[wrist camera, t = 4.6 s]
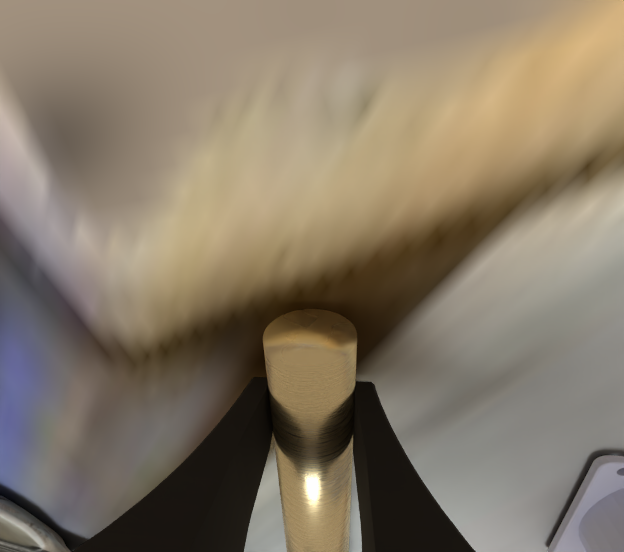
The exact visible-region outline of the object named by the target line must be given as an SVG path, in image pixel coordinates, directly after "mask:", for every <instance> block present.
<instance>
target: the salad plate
mask: <svg viewBox="0 0 624 552" xmlns="http://www.w3.org/2000/svg"><path fill="white" fill-rule="evenodd" d="M0 552H71V551H70V550H69V549H68V548H67V546H66V545H65V542H64V541H63V539H62V538H61V537H60V536H59V535H58V534H57V533H56V532H55V531H54V530H52V529H51V528H50V527H48V526H47V525H46V524H44V523H43V522H41V521H40V520H39V519H37V518H36V517H34V516H33V515H32V514H30V513H29V512H27V511H26V510H24V509H23V508H21V507H20V506H18V505H17V504H15V503H13V502H12V501H10V500H8V499H7V498H5V497H3V496H1V495H0Z"/></svg>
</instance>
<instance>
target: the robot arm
mask: <svg viewBox="0 0 624 552" xmlns="http://www.w3.org/2000/svg"><path fill="white" fill-rule="evenodd" d="M272 433H273V425H272V416H271V407H270V398H269V389H268V380H267V378H264V377H254V378H253V379H251V381H250V382H249V384H248V385H247V387H246V388H245V389H244V391H243V392H242V394H241V395H240V396H239V398H238V399H237V400H236V402H235V403H234V404H233V406H232V407H231V408H230V410H229V411H228V412H227V413H226V415H225V416H224V417H223V418H222V420H221V421H220V422H219V423H218V424H217V426H216V427H215V428H214V429H213V430H212V431H211V433H210V434H209V435H208V436H207V437H206V438H205V439H204V440H203V442H202V443H201V444H200V445H199V446H198V447H197V448H196V449H195V450H194V451H193V452H192V453H191V455H190V456H189V457H188V458H187V459H186V460H185V461H184V462H183V463H182V464H181V465H180V466H179V467H177V468H176V469H175V470H174V471H173V472H172V473H171V474H170V475H169V476H168V477H167V478H166V479H165V480H163V481H162V482H161V483H160V484H159V485H158V486H157V487H156V488H155V489H153V490H152V491H151V492H150V493H149V494H148V495H147V496H145V497H144V498H143V499H142V500H141V501H139V502H138V503H137V504H135V505H134V506H133V507H132V508H130V509H129V510H128V511H127V512H125V513H124V514H123V515H122V516H120V517H119V518H118V519H117V520H115V521H114V522H113V523H111V524H110V525H109V526H107V527H106V528H105V529H103V530H102V531H101V532H99V533H98V534H96V535H95V536H94V537H92V538H91V539H89V540H88V541H86V542H85V543H84V544H82V545H81V546H79V547H78V548H76V549H75V550H74V551H72V552H244V547H245V542H246V537H247V532H248V527H249V523H250V518H251V514H252V510H253V507H254V503H255V500H256V496H257V492H258V489H259V485H260V482H261V478H262V475H263V471H264V467H265V464H266V460H267V456H268V453H269V449H270V444H271V439H272ZM353 455H354V465H355V474H356V483H357V493H358V502H359V511H360V521H361V534H362V552H475V551H474V549H473V548H472V547H471V546H470V545H469V543H468V542H467V541H466V540H465V538H464V537H463V536H462V535H461V533H460V532H459V531H458V529H457V528H456V527H455V525H454V524H453V523H452V522H451V520H450V519H449V518H448V516H447V515H446V514H445V513H444V511H443V510H442V509H441V507H440V506H439V504H438V503H437V502H436V500H435V499H434V497H433V496H432V494H431V493H430V492H429V490H428V489H427V487H426V486H425V484H424V483H423V481H422V480H421V478H420V477H419V475H418V473H417V472H416V470H415V469H414V467H413V465H412V464H411V462H410V460H409V459H408V457H407V455H406V453H405V452H404V450H403V448H402V446H401V444H400V443H399V441H398V439H397V437H396V435H395V433H394V431H393V429H392V427H391V425H390V423H389V421H388V419H387V417H386V414H385V412H384V410H383V407H382V405H381V403H380V400H379V397H378V394H377V391H376V388H375V385H374V384H373V383H372V382H358V381H355V392H354V417H353ZM548 552H624V456H613V455H604V456H600V457H598V458H596V459H595V460H594V461H593V463H592V465H591V467H590V469H589V471H588V473H587V475H586V477H585V479H584V481H583V483H582V485H581V486H580V488H579V490H578V492H577V494H576V496H575V498H574V500H573V502H572V504H571V506H570V508H569V510H568V511H567V513H566V515H565V517H564V519H563V521H562V523H561V525H560V527H559V529H558V531H557V533H556V535H555V537H554V538H553V540H552V542H551V544H550V546H549V548H548Z"/></svg>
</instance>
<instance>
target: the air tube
mask: <svg viewBox="0 0 624 552" xmlns="http://www.w3.org/2000/svg"><path fill="white" fill-rule="evenodd" d="M263 345H264V354H265V363H266V372H267V380H268V389H269V398H270V407H271V416H272V425H273V433H274V442H275V451H276V460H277V469H278V477H279V486H280V495H281V504H282V513H283V521H284V530H285V539H286V548H287V552H349V528H350V503H351V478H352V454H353V417H354V392H355V380H356V355H357V331H356V329H355V327H354V325H353V324H352V323H351V322H350V321H349V320H348V319H347V318H345V317H343V316H342V315H340V314H337V313H335V312H331V311H327V310H321V309H303V310H297V311H292V312H289V313H286V314H284V315H281V316H279V317H278V318H276V319H275V320H273V321H272V322H271V323H270V324H269V325H268V326H267V328H266V329H265V331H264V334H263Z"/></svg>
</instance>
